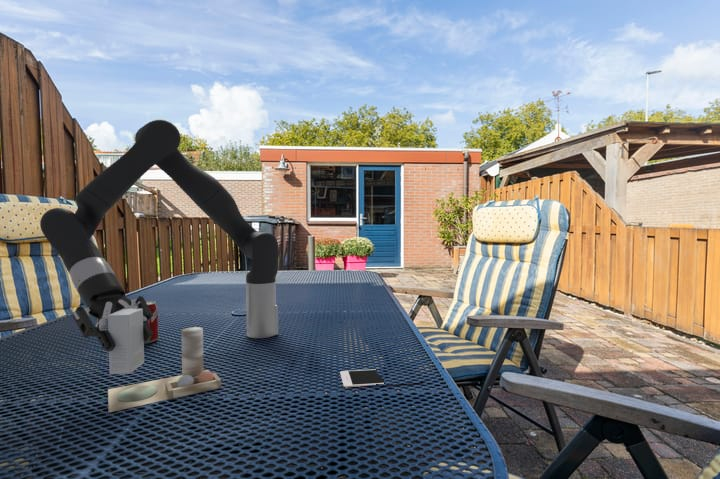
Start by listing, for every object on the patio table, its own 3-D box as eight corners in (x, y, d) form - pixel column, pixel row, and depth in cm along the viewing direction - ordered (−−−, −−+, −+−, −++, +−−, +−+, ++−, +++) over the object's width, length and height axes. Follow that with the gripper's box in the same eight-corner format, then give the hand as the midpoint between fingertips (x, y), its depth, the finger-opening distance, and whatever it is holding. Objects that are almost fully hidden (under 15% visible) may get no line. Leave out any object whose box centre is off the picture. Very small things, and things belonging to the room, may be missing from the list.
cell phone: (423, 385, 88) (423, 381, 88) (343, 390, 85) (343, 386, 85) (412, 370, 96) (412, 366, 96) (339, 374, 94) (339, 370, 94)
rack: (208, 374, 93) (207, 324, 92) (221, 393, 83) (220, 336, 82) (108, 395, 82) (106, 337, 81) (108, 418, 72) (107, 353, 71)
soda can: (147, 345, 115) (146, 305, 114) (127, 344, 116) (126, 304, 116) (163, 339, 122) (162, 301, 121) (144, 338, 123) (143, 300, 122)
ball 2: (212, 381, 86) (211, 367, 85) (215, 386, 83) (215, 372, 83) (196, 385, 84) (196, 370, 84) (199, 390, 81) (199, 375, 81)
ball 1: (192, 386, 83) (192, 371, 83) (195, 391, 81) (195, 376, 81) (176, 389, 82) (175, 374, 81) (178, 395, 79) (178, 379, 79)
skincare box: (124, 363, 83) (122, 308, 83) (144, 363, 84) (143, 308, 83) (107, 374, 77) (106, 315, 77) (130, 374, 78) (129, 314, 77)
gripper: (66, 275, 77) (102, 342, 72) (136, 268, 90) (171, 324, 85) (52, 299, 79) (86, 365, 75) (122, 289, 92) (155, 345, 87)
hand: (131, 343), depth 80 cm, fingers closed on skincare box, 7 cm apart
